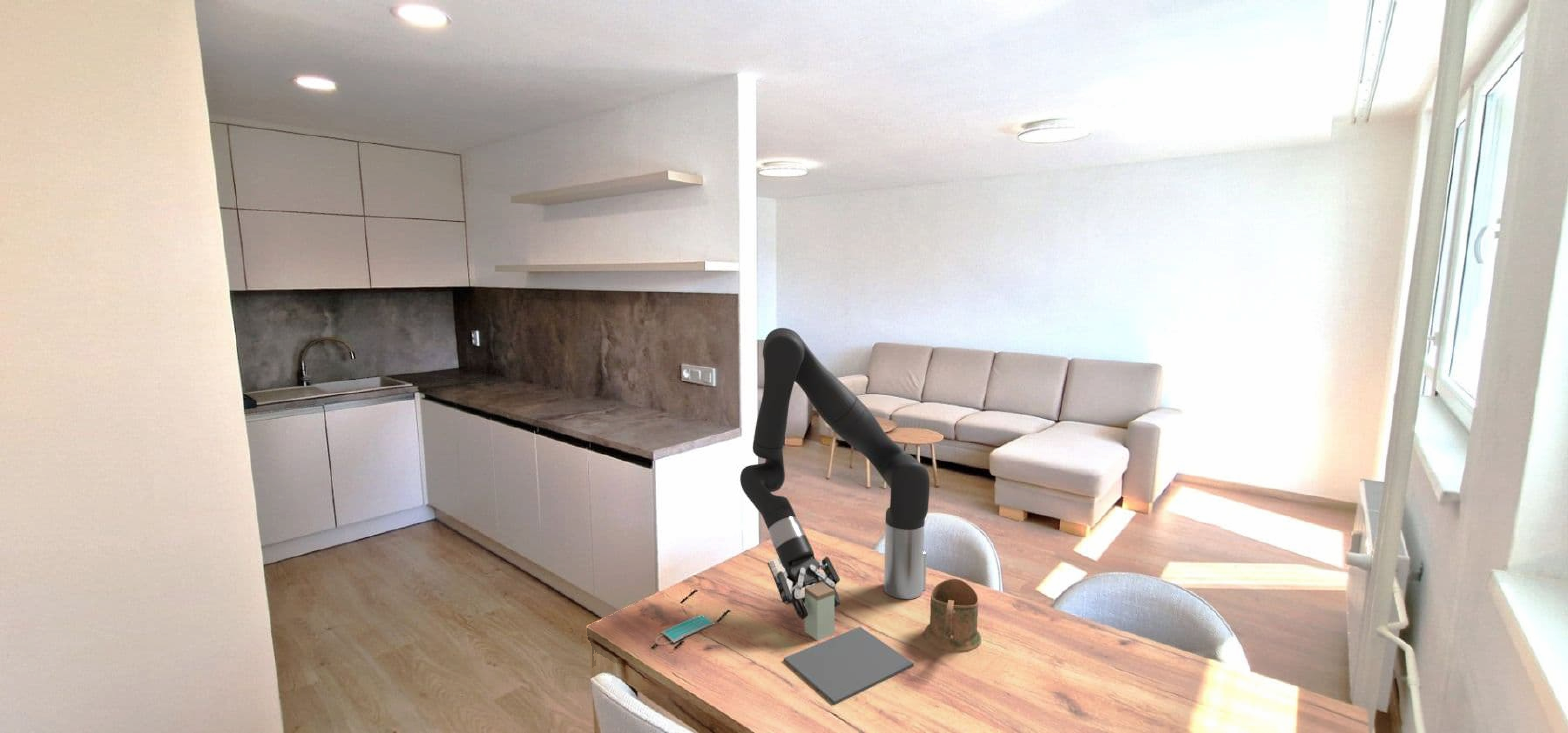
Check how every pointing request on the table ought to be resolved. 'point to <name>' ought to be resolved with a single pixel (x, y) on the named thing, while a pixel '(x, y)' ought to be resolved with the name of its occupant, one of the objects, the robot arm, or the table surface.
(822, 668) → the mat
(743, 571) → the table surface
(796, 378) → the robot arm
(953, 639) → the mug
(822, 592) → the block
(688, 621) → the surgical mask
